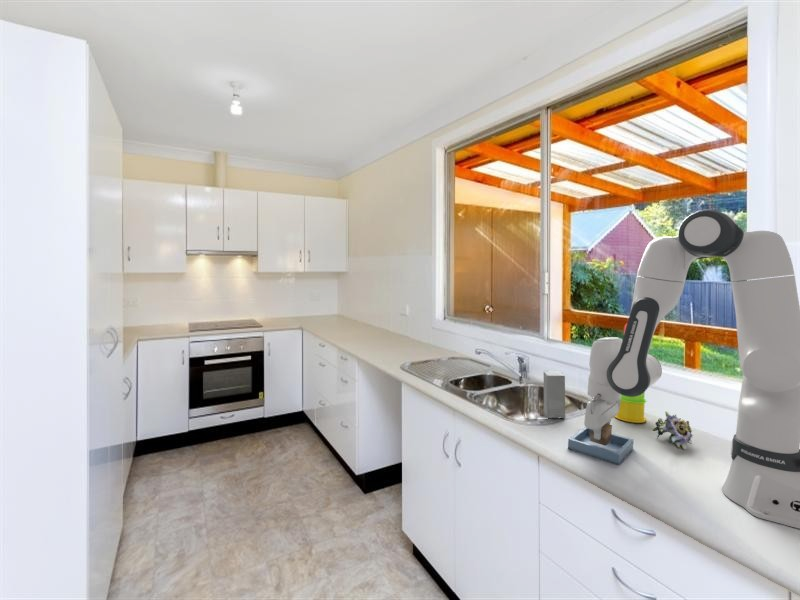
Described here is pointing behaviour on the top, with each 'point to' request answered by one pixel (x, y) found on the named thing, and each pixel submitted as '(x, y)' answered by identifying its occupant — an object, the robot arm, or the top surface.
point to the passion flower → (675, 430)
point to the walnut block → (603, 435)
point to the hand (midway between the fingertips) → (601, 435)
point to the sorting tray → (601, 446)
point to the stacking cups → (632, 407)
